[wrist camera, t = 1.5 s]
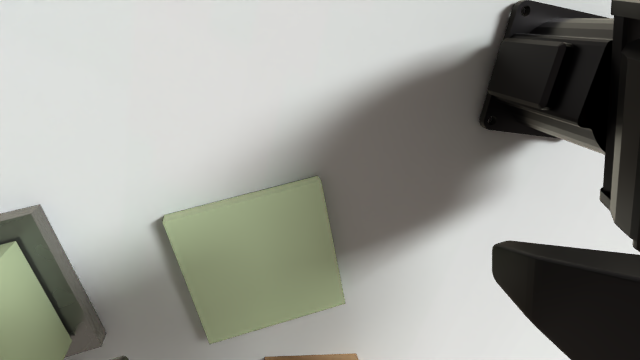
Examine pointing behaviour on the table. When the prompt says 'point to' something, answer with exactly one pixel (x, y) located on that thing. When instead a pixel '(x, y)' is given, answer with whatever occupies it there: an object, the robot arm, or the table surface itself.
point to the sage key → (27, 313)
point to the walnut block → (316, 357)
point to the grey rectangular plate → (54, 275)
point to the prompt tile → (257, 258)
